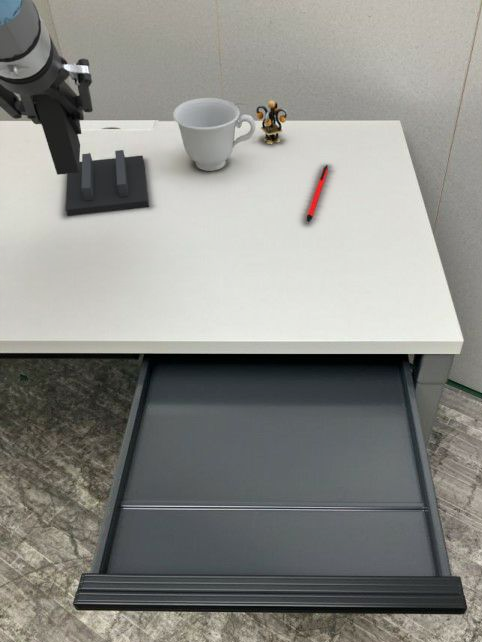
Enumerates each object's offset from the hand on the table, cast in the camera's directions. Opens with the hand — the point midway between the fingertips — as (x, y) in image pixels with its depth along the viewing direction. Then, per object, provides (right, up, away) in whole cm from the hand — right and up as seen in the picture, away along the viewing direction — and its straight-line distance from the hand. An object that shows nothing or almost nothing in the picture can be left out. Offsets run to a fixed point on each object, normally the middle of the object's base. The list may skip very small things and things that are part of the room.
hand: (64, 125), depth 86 cm
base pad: (0, -2, +23) cm, 23 cm away
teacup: (+19, +4, +28) cm, 35 cm away
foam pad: (+1, -5, 0) cm, 5 cm away
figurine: (+30, +11, +35) cm, 47 cm away
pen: (+38, -4, +22) cm, 44 cm away
